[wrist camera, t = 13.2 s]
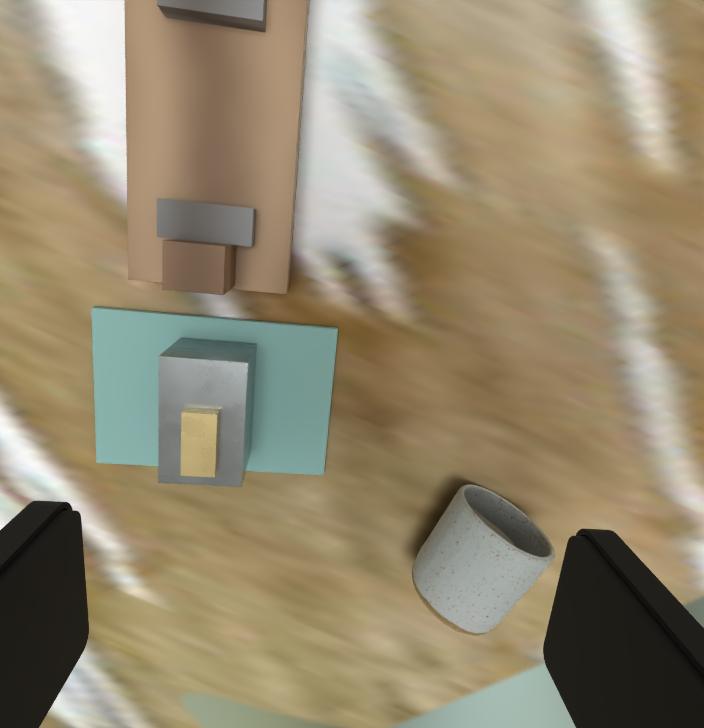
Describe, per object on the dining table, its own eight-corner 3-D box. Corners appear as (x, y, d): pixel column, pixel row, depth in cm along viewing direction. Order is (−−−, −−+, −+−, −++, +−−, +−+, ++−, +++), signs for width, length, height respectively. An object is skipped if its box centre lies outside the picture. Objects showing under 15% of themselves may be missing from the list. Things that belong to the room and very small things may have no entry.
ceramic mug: (396, 553, 39) (418, 630, 32) (447, 469, 38) (483, 530, 30) (504, 596, 42) (548, 677, 34) (557, 519, 40) (615, 586, 33)
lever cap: (257, 343, 33) (246, 366, 28) (250, 451, 35) (239, 493, 30) (180, 337, 33) (154, 359, 27) (179, 447, 35) (154, 489, 29)
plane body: (314, -68, 28) (315, -181, 20) (289, 286, 33) (282, 304, 25) (149, -96, 27) (84, -226, 19) (150, 273, 32) (99, 287, 24)
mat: (337, 327, 34) (338, 329, 33) (323, 471, 37) (323, 475, 36) (95, 306, 32) (91, 307, 32) (100, 458, 35) (96, 462, 35)
